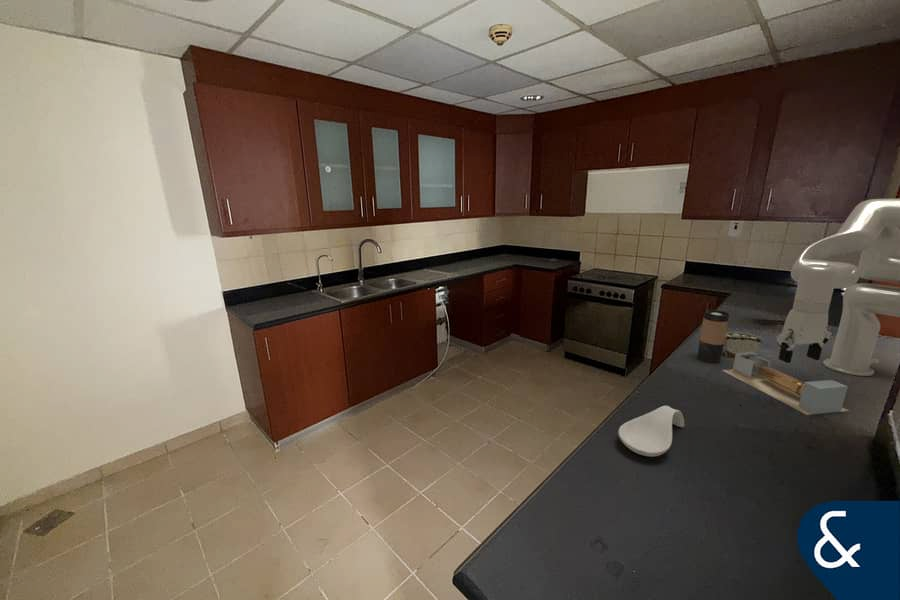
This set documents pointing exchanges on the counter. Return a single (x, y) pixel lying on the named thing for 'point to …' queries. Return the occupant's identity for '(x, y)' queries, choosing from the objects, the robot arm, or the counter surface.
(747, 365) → the sleeve
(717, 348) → the travel mug
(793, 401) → the board
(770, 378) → the tube
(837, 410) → the socket
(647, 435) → the spoon rest
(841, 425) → the counter surface
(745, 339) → the food container
